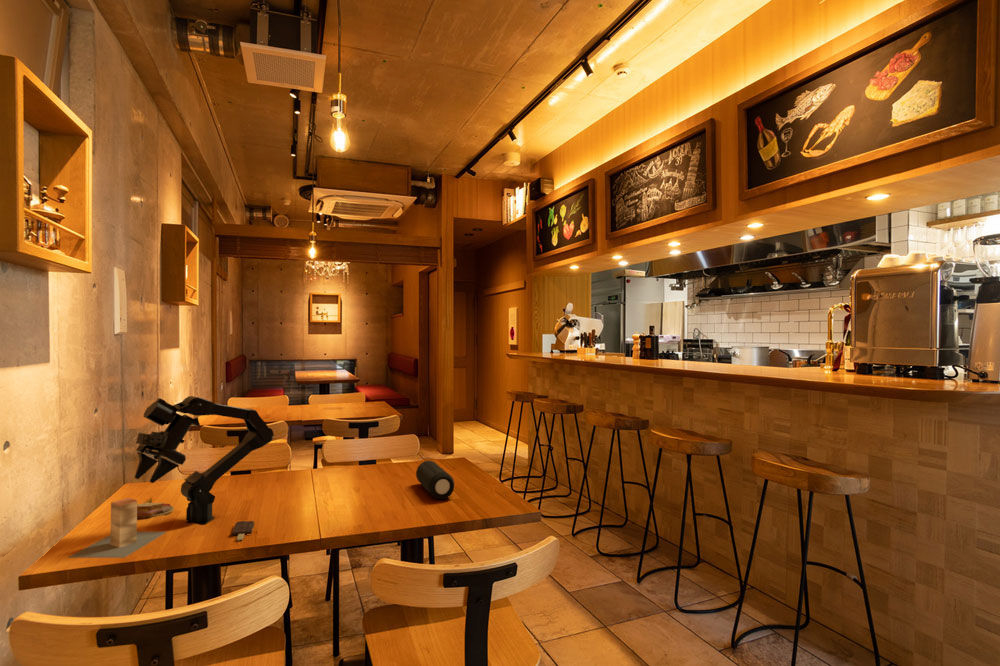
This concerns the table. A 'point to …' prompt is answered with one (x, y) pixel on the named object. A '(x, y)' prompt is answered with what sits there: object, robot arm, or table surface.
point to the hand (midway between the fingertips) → (143, 480)
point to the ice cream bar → (242, 529)
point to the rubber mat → (109, 551)
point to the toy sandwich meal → (153, 509)
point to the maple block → (123, 522)
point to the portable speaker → (435, 480)
